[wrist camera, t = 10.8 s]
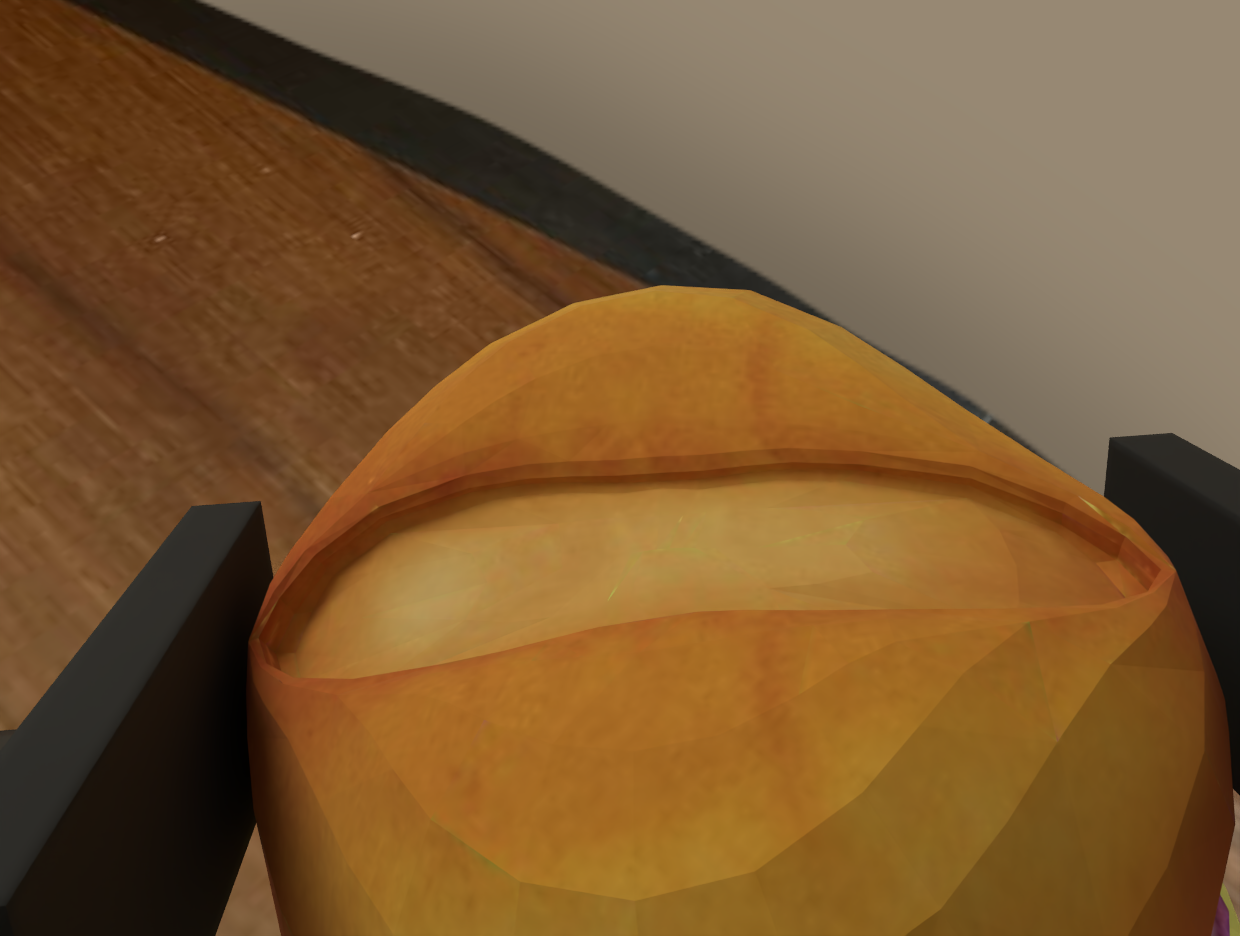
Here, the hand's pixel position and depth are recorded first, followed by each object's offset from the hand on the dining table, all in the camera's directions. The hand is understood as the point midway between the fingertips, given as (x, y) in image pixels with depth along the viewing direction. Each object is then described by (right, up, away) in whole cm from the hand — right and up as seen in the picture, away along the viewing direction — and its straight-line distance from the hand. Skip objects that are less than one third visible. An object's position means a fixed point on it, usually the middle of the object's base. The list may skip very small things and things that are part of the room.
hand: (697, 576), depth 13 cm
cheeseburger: (0, -5, +2) cm, 5 cm away
